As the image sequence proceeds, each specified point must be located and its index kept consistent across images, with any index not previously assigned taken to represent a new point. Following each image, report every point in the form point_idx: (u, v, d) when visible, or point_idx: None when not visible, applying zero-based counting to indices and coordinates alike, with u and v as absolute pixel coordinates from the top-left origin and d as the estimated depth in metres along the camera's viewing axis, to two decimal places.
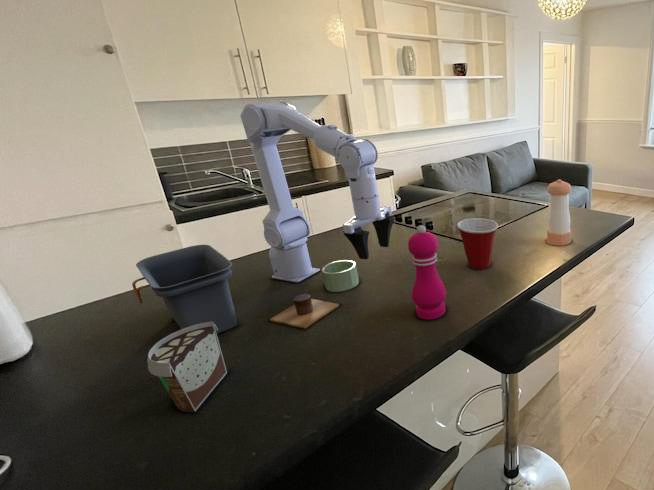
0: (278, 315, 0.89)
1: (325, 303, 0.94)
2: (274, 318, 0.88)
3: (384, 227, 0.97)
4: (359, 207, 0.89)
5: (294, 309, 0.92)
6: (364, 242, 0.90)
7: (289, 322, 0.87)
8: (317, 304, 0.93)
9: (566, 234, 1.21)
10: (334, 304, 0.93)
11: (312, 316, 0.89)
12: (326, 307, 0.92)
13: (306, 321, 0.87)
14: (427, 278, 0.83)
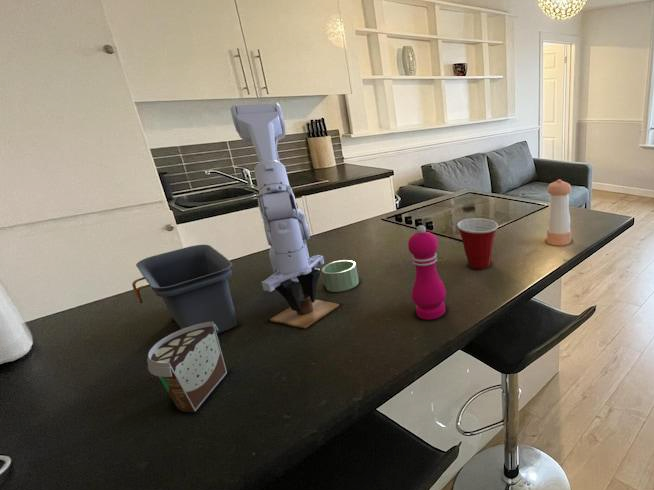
0: (278, 315, 0.89)
1: (325, 303, 0.94)
2: (274, 318, 0.88)
3: (308, 282, 0.90)
4: (281, 261, 0.83)
5: None
6: (294, 295, 0.85)
7: (289, 322, 0.87)
8: (317, 304, 0.93)
9: (566, 234, 1.21)
10: (334, 304, 0.93)
11: (312, 315, 0.89)
12: (326, 307, 0.92)
13: (306, 321, 0.87)
14: (427, 278, 0.83)
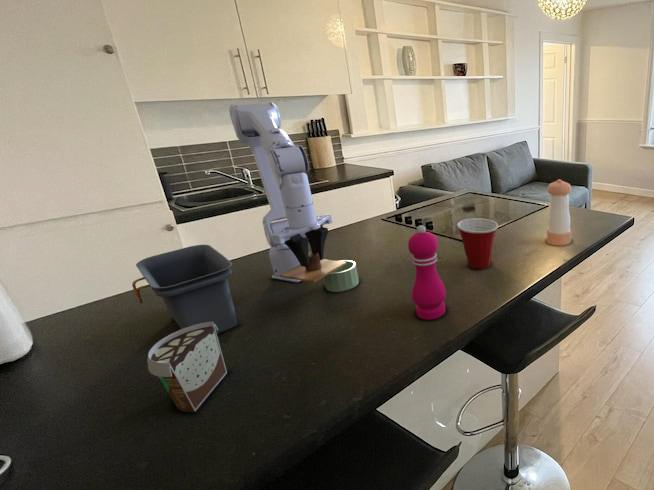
0: (287, 271, 0.92)
1: (333, 262, 0.96)
2: (284, 274, 0.90)
3: (317, 239, 0.92)
4: (290, 216, 0.85)
5: None
6: (303, 249, 0.87)
7: (298, 277, 0.89)
8: (325, 262, 0.95)
9: (566, 234, 1.21)
10: (342, 262, 0.95)
11: (321, 272, 0.91)
12: (334, 265, 0.94)
13: (315, 276, 0.89)
14: (427, 278, 0.83)
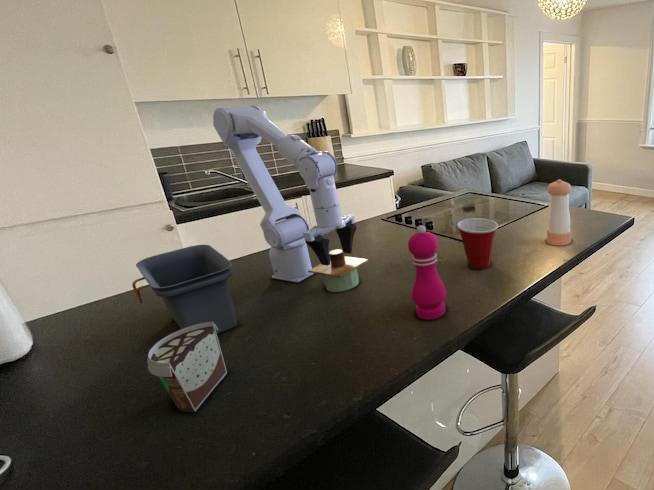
0: (315, 268, 1.00)
1: (355, 259, 1.04)
2: (312, 270, 0.99)
3: (346, 235, 1.02)
4: (319, 216, 0.94)
5: None
6: (324, 249, 0.94)
7: (326, 272, 0.97)
8: (348, 259, 1.04)
9: (566, 234, 1.21)
10: (364, 259, 1.04)
11: (345, 268, 0.99)
12: (356, 262, 1.03)
13: (341, 271, 0.97)
14: (427, 278, 0.83)
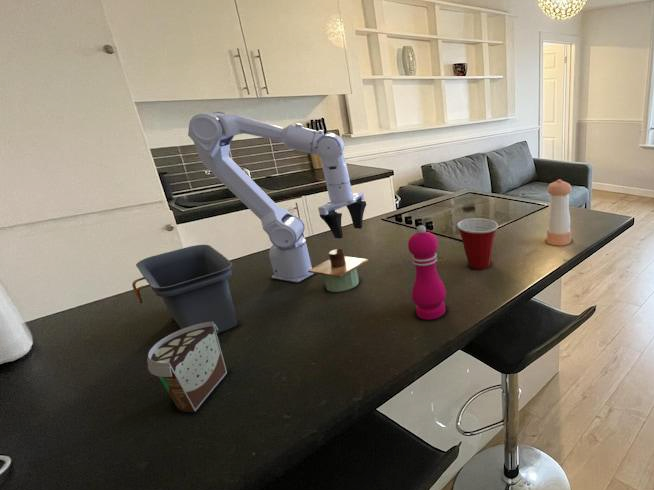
0: (315, 268, 1.00)
1: (355, 259, 1.04)
2: (312, 270, 0.99)
3: (357, 211, 1.10)
4: (332, 192, 1.02)
5: (328, 263, 1.02)
6: (338, 223, 1.02)
7: (326, 272, 0.97)
8: (348, 259, 1.04)
9: (566, 234, 1.21)
10: (364, 259, 1.04)
11: (345, 268, 0.99)
12: (356, 262, 1.03)
13: (341, 271, 0.97)
14: (427, 278, 0.83)
